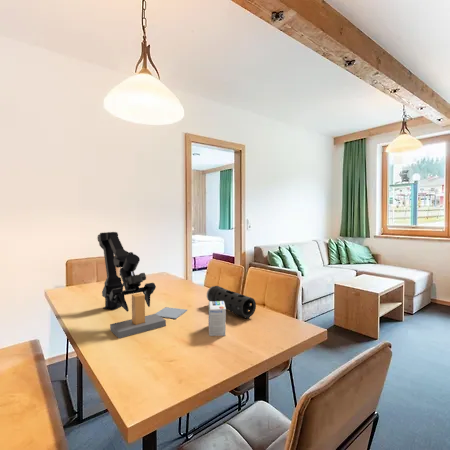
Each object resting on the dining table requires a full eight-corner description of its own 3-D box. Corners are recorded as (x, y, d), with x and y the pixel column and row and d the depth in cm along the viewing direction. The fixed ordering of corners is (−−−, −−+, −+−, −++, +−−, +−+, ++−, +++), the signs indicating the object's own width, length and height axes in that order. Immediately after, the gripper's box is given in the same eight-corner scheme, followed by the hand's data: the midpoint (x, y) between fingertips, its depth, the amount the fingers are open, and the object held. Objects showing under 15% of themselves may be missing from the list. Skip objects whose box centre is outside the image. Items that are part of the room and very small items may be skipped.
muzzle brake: (241, 322, 128) (241, 299, 127) (205, 306, 149) (205, 286, 149) (256, 317, 133) (256, 295, 133) (219, 302, 155) (219, 283, 155)
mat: (152, 316, 134) (152, 315, 134) (165, 308, 146) (165, 307, 146) (175, 319, 130) (175, 318, 130) (187, 310, 142) (187, 309, 142)
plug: (132, 327, 121) (131, 294, 120) (141, 325, 123) (140, 293, 123) (135, 330, 117) (135, 296, 117) (145, 328, 120) (144, 295, 119)
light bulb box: (208, 325, 123) (208, 300, 123) (224, 325, 124) (224, 300, 123) (209, 336, 112) (209, 309, 112) (226, 335, 113) (226, 308, 112)
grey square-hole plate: (110, 330, 118) (110, 324, 118) (155, 319, 130) (155, 313, 130) (118, 338, 110) (118, 332, 110) (165, 325, 123) (165, 320, 123)
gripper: (111, 269, 117) (120, 302, 109) (153, 264, 129) (165, 294, 121) (105, 285, 124) (114, 317, 115) (146, 279, 135) (157, 308, 127)
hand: (138, 308), depth 120 cm, fingers open, 9 cm apart
